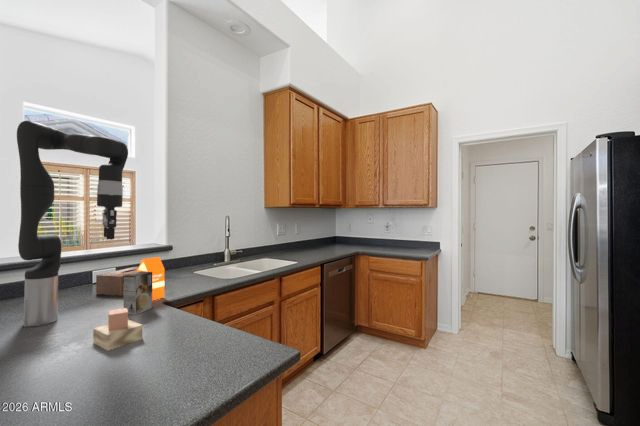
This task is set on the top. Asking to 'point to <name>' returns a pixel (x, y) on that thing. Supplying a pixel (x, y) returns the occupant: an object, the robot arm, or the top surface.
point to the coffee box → (137, 292)
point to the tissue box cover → (113, 281)
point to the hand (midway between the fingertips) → (108, 238)
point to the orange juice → (154, 275)
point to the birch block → (117, 335)
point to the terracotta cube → (118, 319)
